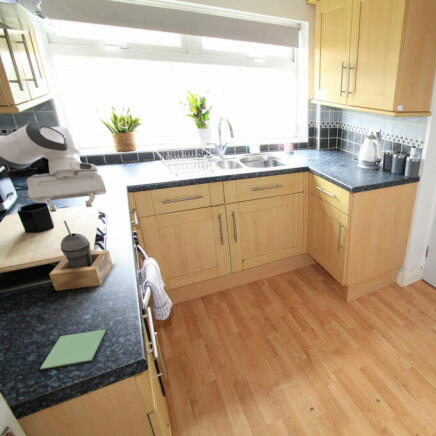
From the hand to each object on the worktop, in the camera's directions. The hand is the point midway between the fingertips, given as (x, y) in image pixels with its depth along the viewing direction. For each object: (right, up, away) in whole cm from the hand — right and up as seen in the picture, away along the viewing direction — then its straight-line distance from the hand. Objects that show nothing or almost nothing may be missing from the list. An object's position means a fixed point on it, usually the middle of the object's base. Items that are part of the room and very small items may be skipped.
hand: (71, 208), depth 104 cm
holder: (+5, -22, 0) cm, 23 cm away
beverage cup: (+5, -22, 0) cm, 23 cm away
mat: (+22, -35, -27) cm, 49 cm away
